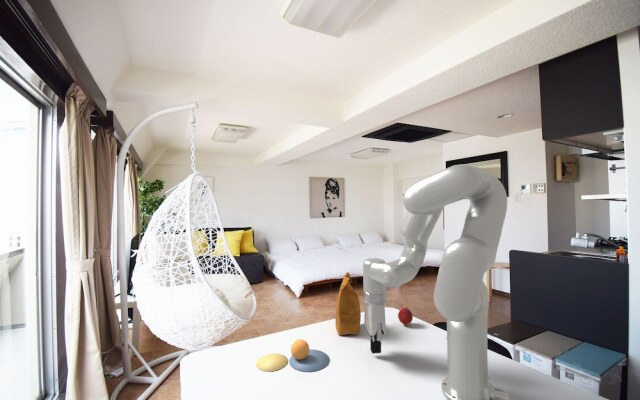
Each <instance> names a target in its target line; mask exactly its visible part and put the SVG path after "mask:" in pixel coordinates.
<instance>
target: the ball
mask: <svg viewBox="0 0 640 400" xmlns="http://www.w3.org/2000/svg"><path fill="white" fill-rule="evenodd" d="M309 349H310V345H309V343H308V342H307V341H306V340H304V339H301V338H299V339H296V340H295V341H294V342H293V343H292V344H291V347H290V353H291V356H292V355H293V357H294V358H295V359H298V360H302V359H304V358H306V357H307V355H308V353H309Z"/></svg>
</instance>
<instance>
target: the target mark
mask: <svg viewBox="0 0 640 400" xmlns="http://www.w3.org/2000/svg"><path fill="white" fill-rule="evenodd" d="M288 362H289V366H291V367H292V368H293V369H294V370H295V371H298V372H303V373H314V372H318V371H321V370H323V369H325V368H326V367H327V366H328V365H330V364H329V363H330V356H329V354H327V353H326V352H324V351H322V350H319V349H310V348H309V353H308V355H307V357H306V358H304V359H302V360H298V359H295V358H294V357H293V355H292V354H291V356H290V358H289V360H288Z"/></svg>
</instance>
